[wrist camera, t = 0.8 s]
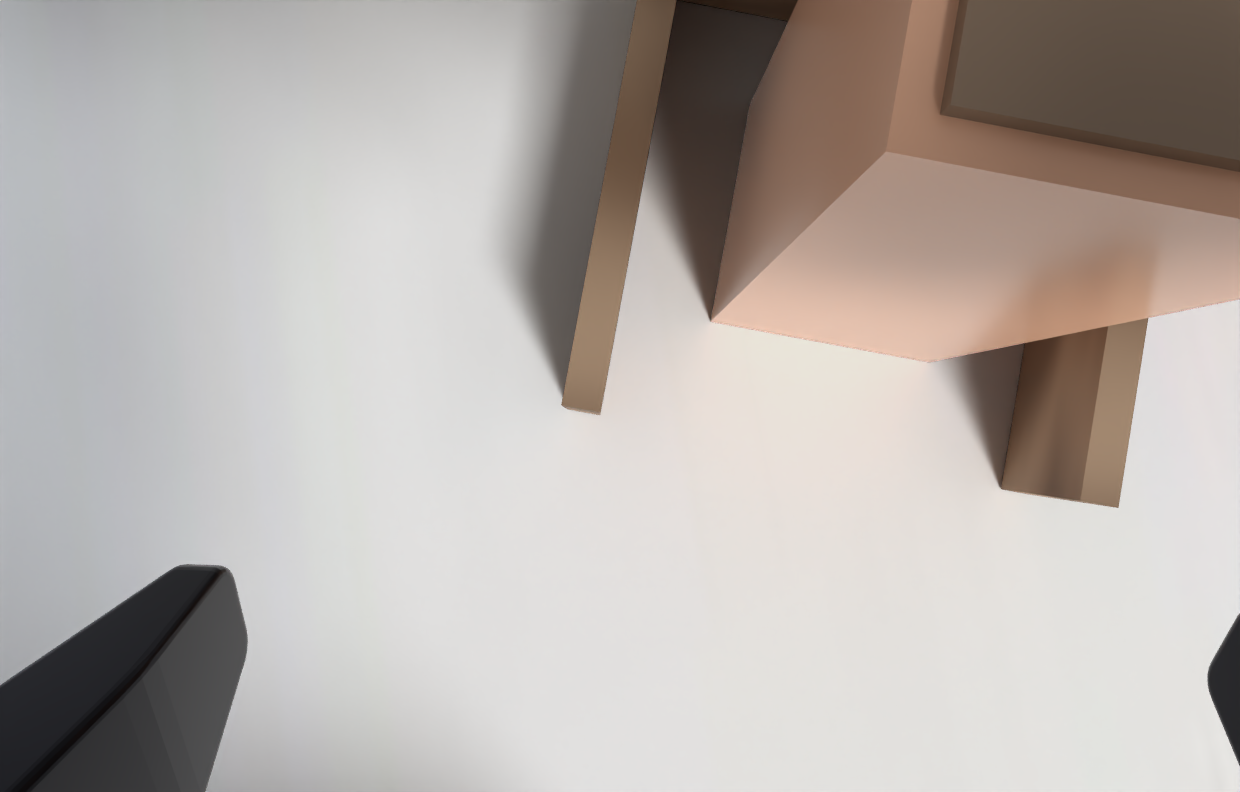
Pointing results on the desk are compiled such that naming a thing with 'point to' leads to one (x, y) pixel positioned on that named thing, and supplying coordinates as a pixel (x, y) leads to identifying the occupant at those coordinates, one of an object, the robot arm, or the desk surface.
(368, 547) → the desk surface
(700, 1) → the brown l-shaped block
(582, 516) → the desk surface
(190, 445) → the desk surface
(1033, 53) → the tall peach pillar
